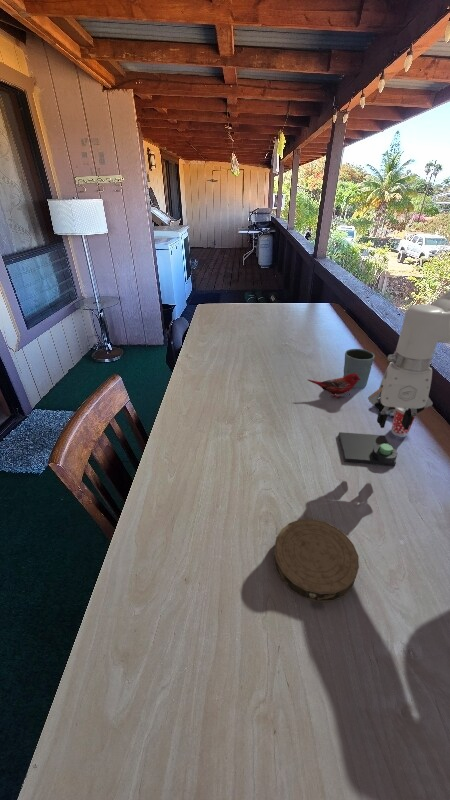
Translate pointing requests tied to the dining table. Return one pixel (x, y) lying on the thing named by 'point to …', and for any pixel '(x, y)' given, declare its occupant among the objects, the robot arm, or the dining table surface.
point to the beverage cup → (399, 423)
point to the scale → (365, 449)
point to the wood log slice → (315, 560)
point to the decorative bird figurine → (338, 384)
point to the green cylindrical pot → (358, 365)
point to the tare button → (385, 449)
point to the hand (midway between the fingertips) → (392, 425)
